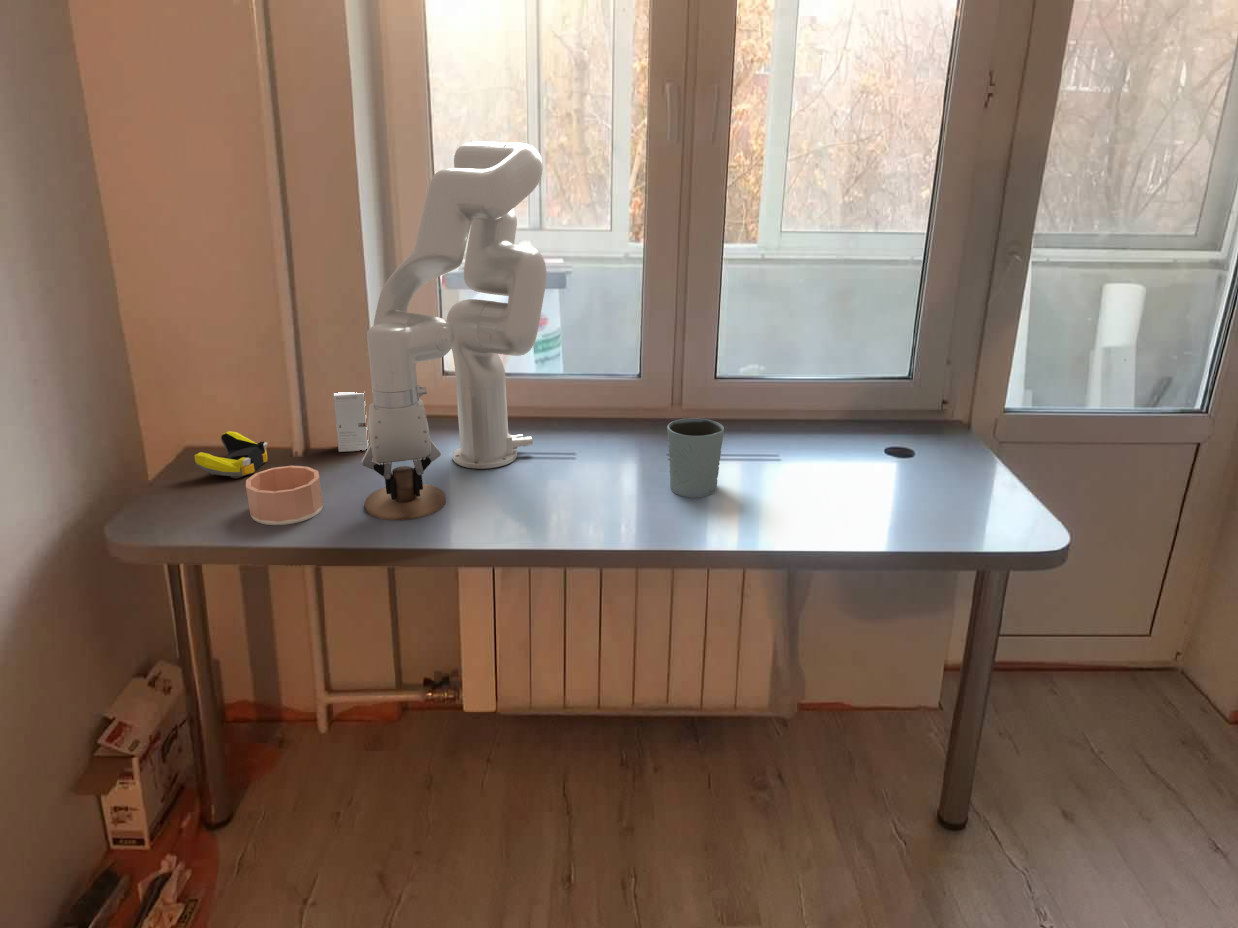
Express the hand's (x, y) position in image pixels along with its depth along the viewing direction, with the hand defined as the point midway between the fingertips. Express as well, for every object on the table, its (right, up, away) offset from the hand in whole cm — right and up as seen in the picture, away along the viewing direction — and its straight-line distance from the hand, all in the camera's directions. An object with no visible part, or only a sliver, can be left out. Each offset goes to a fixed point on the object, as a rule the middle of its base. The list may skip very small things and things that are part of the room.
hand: (404, 494), depth 172 cm
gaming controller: (-37, +4, +17) cm, 40 cm away
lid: (0, -2, +1) cm, 2 cm away
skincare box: (-16, +9, +27) cm, 33 cm away
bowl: (-20, -3, -2) cm, 20 cm away
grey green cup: (+52, +1, +7) cm, 52 cm away
